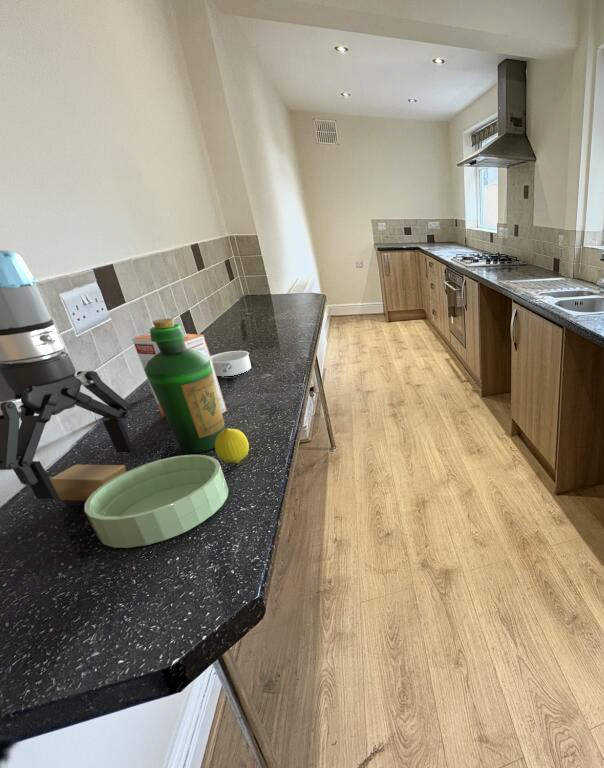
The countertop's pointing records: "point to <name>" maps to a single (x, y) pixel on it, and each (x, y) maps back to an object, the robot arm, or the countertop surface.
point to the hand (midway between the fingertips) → (90, 472)
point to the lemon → (231, 445)
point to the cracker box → (191, 341)
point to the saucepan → (231, 363)
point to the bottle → (184, 389)
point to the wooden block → (83, 481)
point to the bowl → (156, 501)
